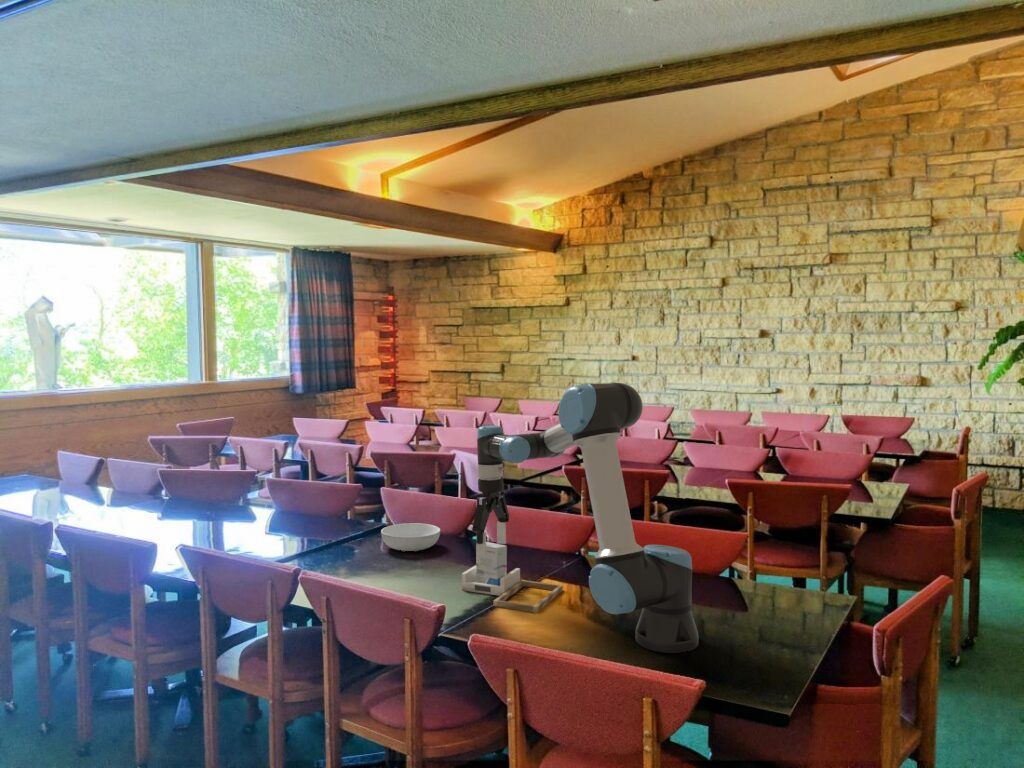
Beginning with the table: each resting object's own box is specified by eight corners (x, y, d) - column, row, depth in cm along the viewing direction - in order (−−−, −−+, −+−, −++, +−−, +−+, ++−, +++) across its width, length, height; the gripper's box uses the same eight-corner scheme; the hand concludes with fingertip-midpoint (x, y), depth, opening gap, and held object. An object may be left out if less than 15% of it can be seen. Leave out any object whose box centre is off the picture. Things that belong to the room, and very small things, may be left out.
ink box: (508, 584, 223) (507, 544, 223) (497, 588, 219) (497, 548, 219) (486, 578, 229) (485, 540, 228) (475, 582, 225) (475, 543, 224)
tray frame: (536, 612, 203) (536, 607, 203) (493, 606, 208) (493, 600, 208) (562, 590, 221) (562, 585, 221) (522, 584, 226) (522, 579, 226)
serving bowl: (437, 557, 257) (436, 537, 256) (376, 556, 257) (375, 537, 256) (443, 540, 277) (443, 522, 277) (387, 540, 278) (386, 522, 277)
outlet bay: (503, 596, 216) (503, 579, 215) (461, 590, 221) (461, 573, 221) (520, 584, 226) (520, 568, 226) (479, 579, 232) (479, 563, 232)
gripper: (483, 485, 209) (484, 560, 210) (519, 472, 232) (520, 540, 233) (459, 484, 212) (460, 558, 213) (497, 471, 235) (498, 538, 236)
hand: (491, 548), depth 223 cm, fingers open, 13 cm apart
